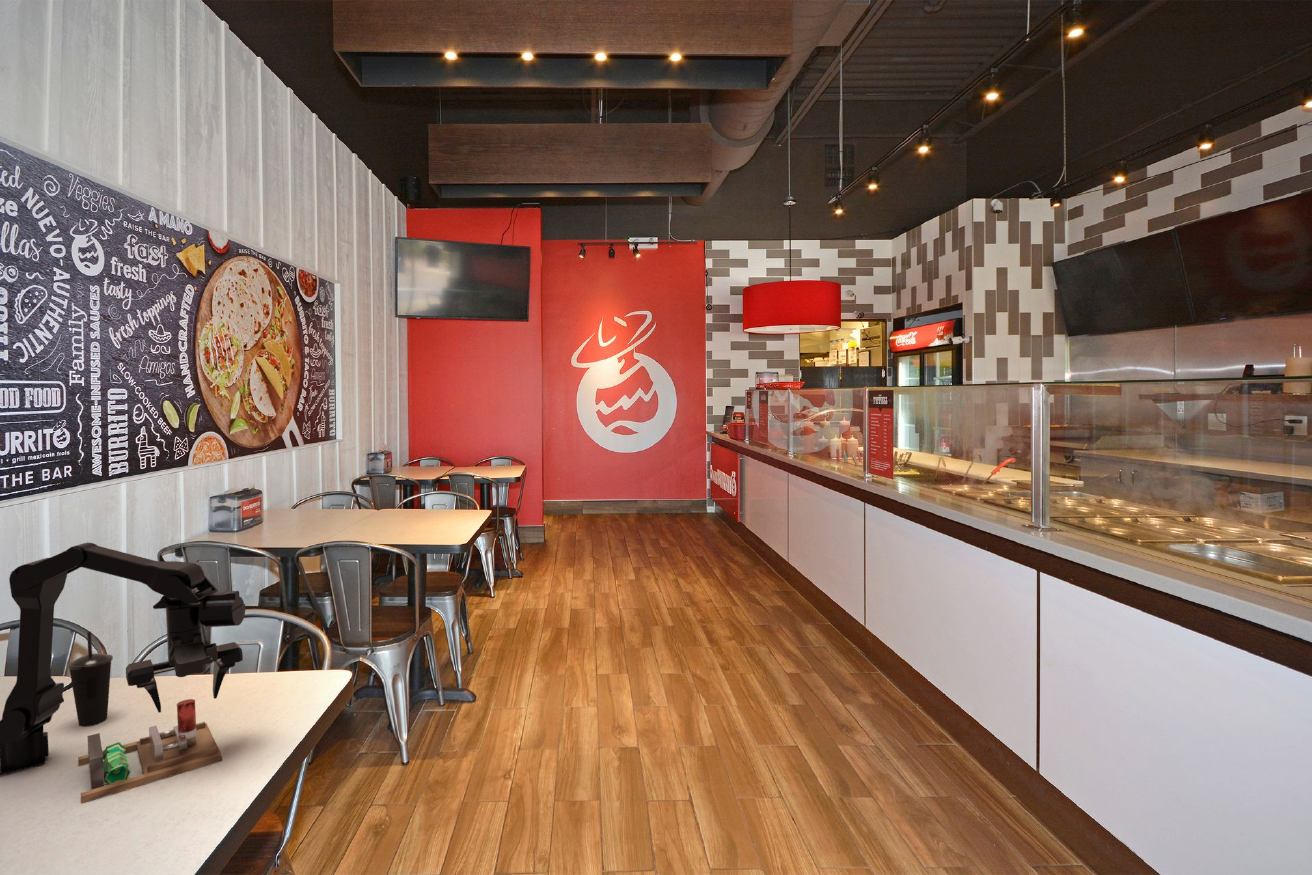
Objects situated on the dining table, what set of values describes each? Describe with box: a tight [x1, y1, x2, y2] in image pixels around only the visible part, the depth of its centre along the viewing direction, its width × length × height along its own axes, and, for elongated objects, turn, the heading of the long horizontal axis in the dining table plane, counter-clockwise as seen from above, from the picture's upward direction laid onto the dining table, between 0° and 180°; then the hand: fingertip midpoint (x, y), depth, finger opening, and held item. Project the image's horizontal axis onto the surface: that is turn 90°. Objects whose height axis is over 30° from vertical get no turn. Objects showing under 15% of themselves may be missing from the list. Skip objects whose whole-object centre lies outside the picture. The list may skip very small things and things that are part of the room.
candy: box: [103, 742, 132, 785], centre depth 128 cm, size 12×3×4 cm
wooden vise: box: [77, 721, 223, 804], centre depth 132 cm, size 21×18×6 cm
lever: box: [148, 698, 197, 764], centre depth 134 cm, size 7×10×8 cm
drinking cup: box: [67, 631, 114, 727], centre depth 149 cm, size 8×8×20 cm
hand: (187, 704), depth 136 cm, fingers open, 9 cm apart
